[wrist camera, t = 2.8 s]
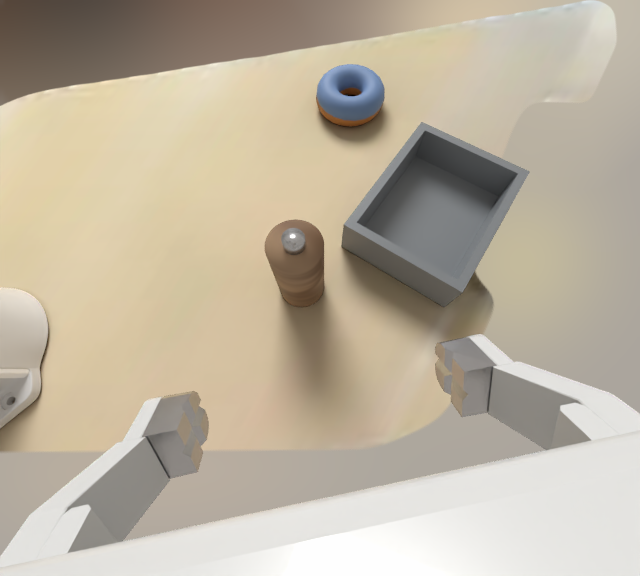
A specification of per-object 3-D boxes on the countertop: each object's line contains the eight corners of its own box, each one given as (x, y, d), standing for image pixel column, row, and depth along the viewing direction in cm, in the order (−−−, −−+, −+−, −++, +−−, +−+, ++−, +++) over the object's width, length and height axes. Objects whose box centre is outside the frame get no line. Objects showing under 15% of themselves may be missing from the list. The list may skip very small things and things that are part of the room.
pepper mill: (307, 315, 35) (300, 278, 24) (271, 291, 36) (249, 245, 25) (332, 280, 36) (335, 230, 26) (297, 258, 37) (286, 202, 27)
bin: (444, 307, 35) (462, 292, 30) (341, 246, 38) (343, 224, 33) (505, 198, 40) (529, 171, 35) (411, 152, 43) (421, 121, 38)
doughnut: (386, 129, 44) (390, 97, 40) (317, 134, 45) (315, 103, 41) (379, 88, 49) (382, 55, 45) (316, 93, 49) (314, 61, 45)
